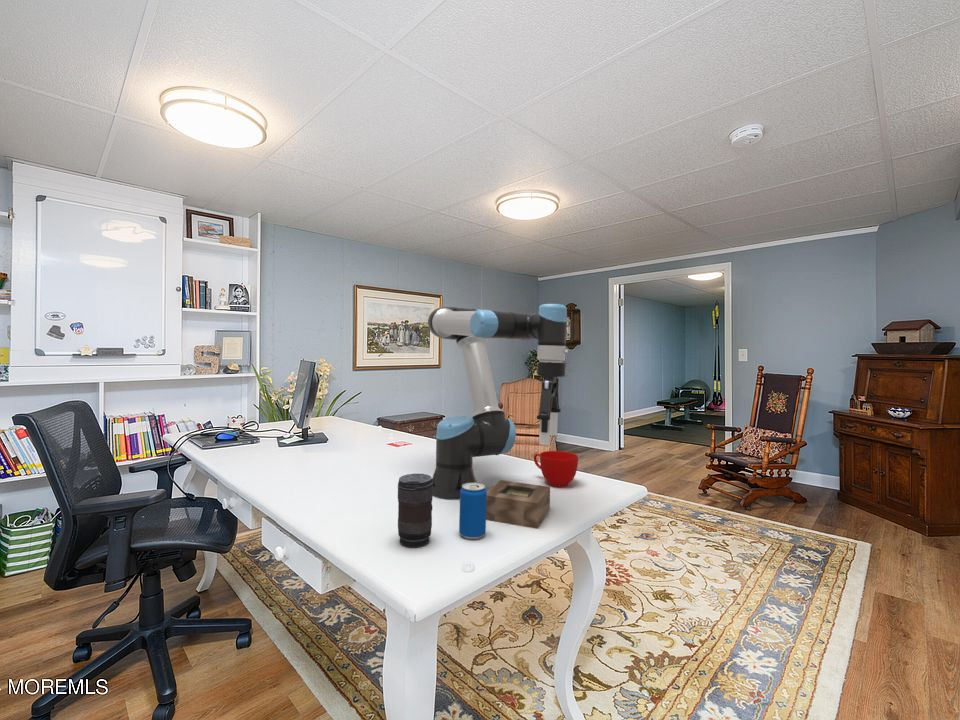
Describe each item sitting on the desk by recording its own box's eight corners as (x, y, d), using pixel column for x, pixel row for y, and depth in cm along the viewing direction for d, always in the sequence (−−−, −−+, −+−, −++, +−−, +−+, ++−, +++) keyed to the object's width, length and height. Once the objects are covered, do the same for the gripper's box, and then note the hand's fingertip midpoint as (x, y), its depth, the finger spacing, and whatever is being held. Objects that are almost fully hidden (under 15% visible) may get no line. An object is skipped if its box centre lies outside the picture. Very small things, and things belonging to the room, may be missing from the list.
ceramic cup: (544, 474, 162) (545, 447, 162) (584, 484, 151) (585, 455, 150) (522, 480, 153) (523, 452, 153) (563, 492, 141) (564, 461, 141)
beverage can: (489, 532, 109) (490, 484, 108) (480, 542, 103) (481, 491, 102) (464, 528, 111) (465, 480, 111) (455, 538, 105) (456, 488, 104)
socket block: (482, 519, 117) (482, 494, 117) (500, 501, 131) (500, 480, 131) (536, 528, 112) (537, 503, 111) (549, 509, 126) (550, 486, 125)
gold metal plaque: (501, 500, 119) (501, 496, 119) (509, 492, 126) (509, 488, 126) (526, 503, 117) (526, 500, 117) (533, 495, 123) (533, 492, 123)
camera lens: (398, 534, 106) (399, 472, 106) (432, 534, 107) (433, 472, 106) (394, 549, 98) (396, 482, 98) (431, 548, 99) (432, 482, 98)
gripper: (559, 363, 105) (556, 450, 106) (570, 361, 129) (567, 432, 130) (528, 362, 108) (525, 447, 108) (544, 360, 131) (542, 430, 132)
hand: (548, 439), depth 119 cm, fingers open, 13 cm apart
